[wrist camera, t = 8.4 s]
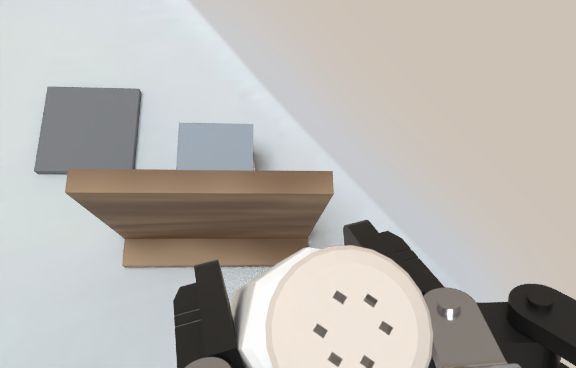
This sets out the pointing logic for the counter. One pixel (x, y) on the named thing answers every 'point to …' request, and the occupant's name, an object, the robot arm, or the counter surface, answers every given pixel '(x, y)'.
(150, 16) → the counter surface
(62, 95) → the pad
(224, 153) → the gray cube
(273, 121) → the counter surface
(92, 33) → the counter surface
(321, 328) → the pepper shaker
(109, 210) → the screen
